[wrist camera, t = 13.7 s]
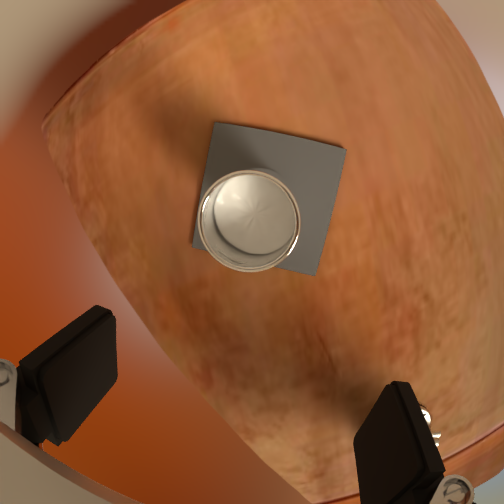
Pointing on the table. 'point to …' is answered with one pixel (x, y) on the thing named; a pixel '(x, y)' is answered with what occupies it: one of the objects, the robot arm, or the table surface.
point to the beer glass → (250, 219)
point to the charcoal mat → (292, 169)
